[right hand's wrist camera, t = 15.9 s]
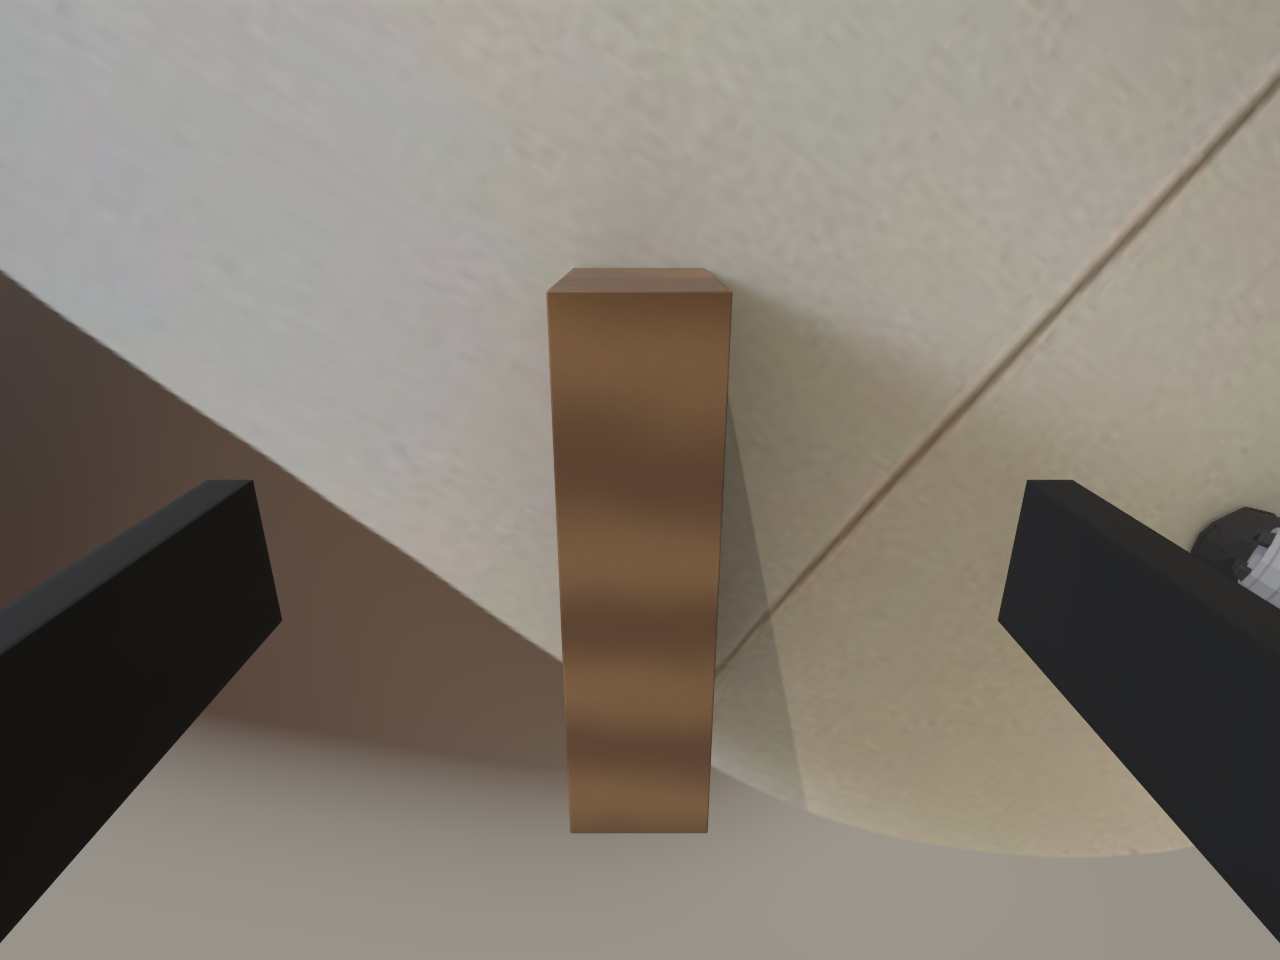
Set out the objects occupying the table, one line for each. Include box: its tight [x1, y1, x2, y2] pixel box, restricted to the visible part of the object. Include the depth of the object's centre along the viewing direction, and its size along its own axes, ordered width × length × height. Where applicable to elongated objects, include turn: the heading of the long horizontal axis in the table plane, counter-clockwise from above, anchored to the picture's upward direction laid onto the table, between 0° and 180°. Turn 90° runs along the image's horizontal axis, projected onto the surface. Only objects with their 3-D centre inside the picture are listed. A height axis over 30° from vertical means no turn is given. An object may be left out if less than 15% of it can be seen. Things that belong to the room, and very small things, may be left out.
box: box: [546, 268, 732, 833], centre depth 31 cm, size 23×6×10 cm, turn 0°
